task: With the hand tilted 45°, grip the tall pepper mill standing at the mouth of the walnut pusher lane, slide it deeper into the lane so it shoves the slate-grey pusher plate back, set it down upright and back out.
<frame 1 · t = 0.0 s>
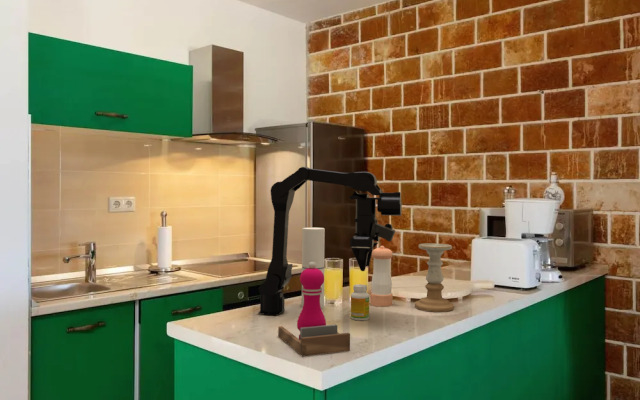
hand: (365, 268, 159), 15 cm above the counter, tool pointing down, fingers open, 9 cm apart
pusher: (318, 336, 131), point 3 cm above the counter, slide at 0.0 cm
supplement bottle: (359, 319, 160), on the counter
candle holder: (434, 308, 175), on the counter
salt shaker: (381, 304, 179), on the counter
cylindrical container: (312, 306, 175), on the counter
lane: (311, 342, 135), on the counter
pepper mill: (311, 343, 135), on the counter
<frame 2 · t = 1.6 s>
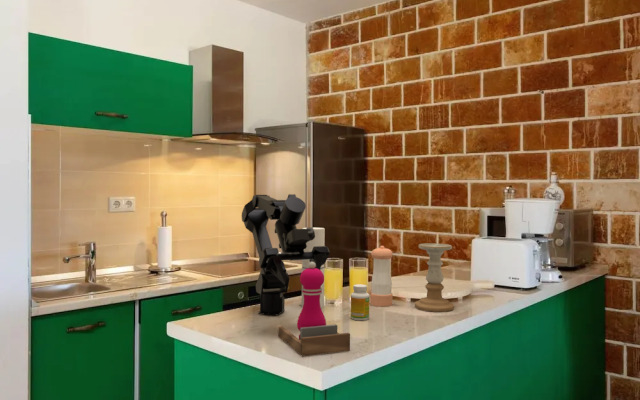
hand: (302, 282, 142), 13 cm above the counter, tool tilted 45°, fingers open, 9 cm apart
nothing on the counter moved.
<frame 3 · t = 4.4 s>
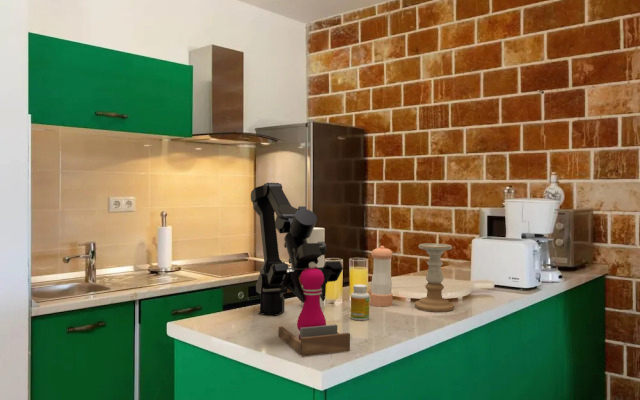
hand: (313, 300, 134), 11 cm above the counter, tool tilted 45°, fingers closed on pepper mill, 5 cm apart
pepper mill: (311, 343, 135), on the counter, touching gripper
everything else where it was.
when the fingers open (12 cm above the counter, at t = 6.8 s): pepper mill drops 1 cm, on the counter.
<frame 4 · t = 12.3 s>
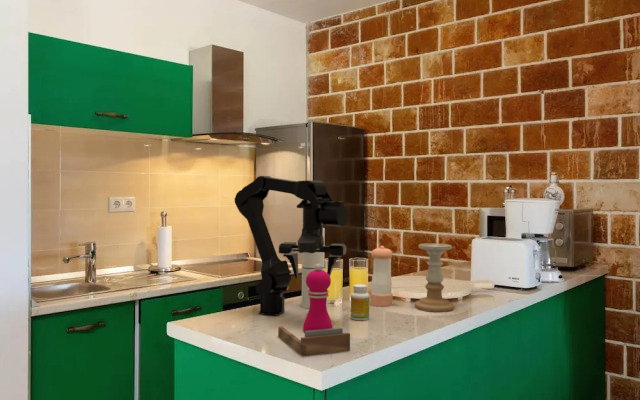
hand: (312, 278, 156), 12 cm above the counter, tool pointing down, fingers open, 9 cm apart
pusher: (323, 340, 128), point 3 cm above the counter, slide at 3.0 cm
pepper mill: (317, 347, 132), on the counter
everything else where it was.
at the end: pepper mill 0.7 cm from the target spot on the lane, point 0.0 cm above the lane's base; pepper mill tilted 0°; pusher slide at 3.0 cm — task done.
